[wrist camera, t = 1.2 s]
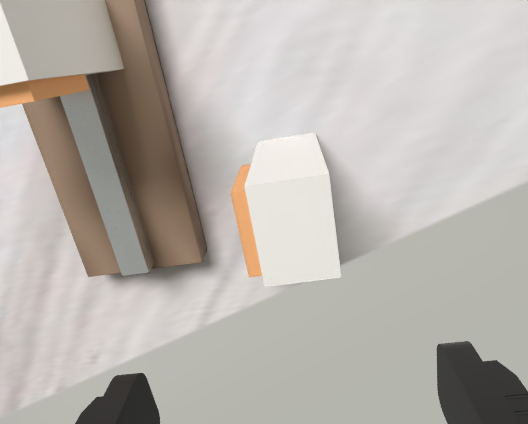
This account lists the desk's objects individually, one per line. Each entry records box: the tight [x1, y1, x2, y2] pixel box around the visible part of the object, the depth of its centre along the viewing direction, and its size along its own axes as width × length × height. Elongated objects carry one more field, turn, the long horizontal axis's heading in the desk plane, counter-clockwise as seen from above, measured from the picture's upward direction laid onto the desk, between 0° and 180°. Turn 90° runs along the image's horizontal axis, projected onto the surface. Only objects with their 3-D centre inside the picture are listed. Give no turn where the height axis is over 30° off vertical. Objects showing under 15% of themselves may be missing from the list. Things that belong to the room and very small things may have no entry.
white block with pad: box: [231, 132, 341, 287], centre depth 24 cm, size 6×5×10 cm
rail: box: [0, 0, 207, 277], centre depth 23 cm, size 9×20×12 cm, turn 10°
